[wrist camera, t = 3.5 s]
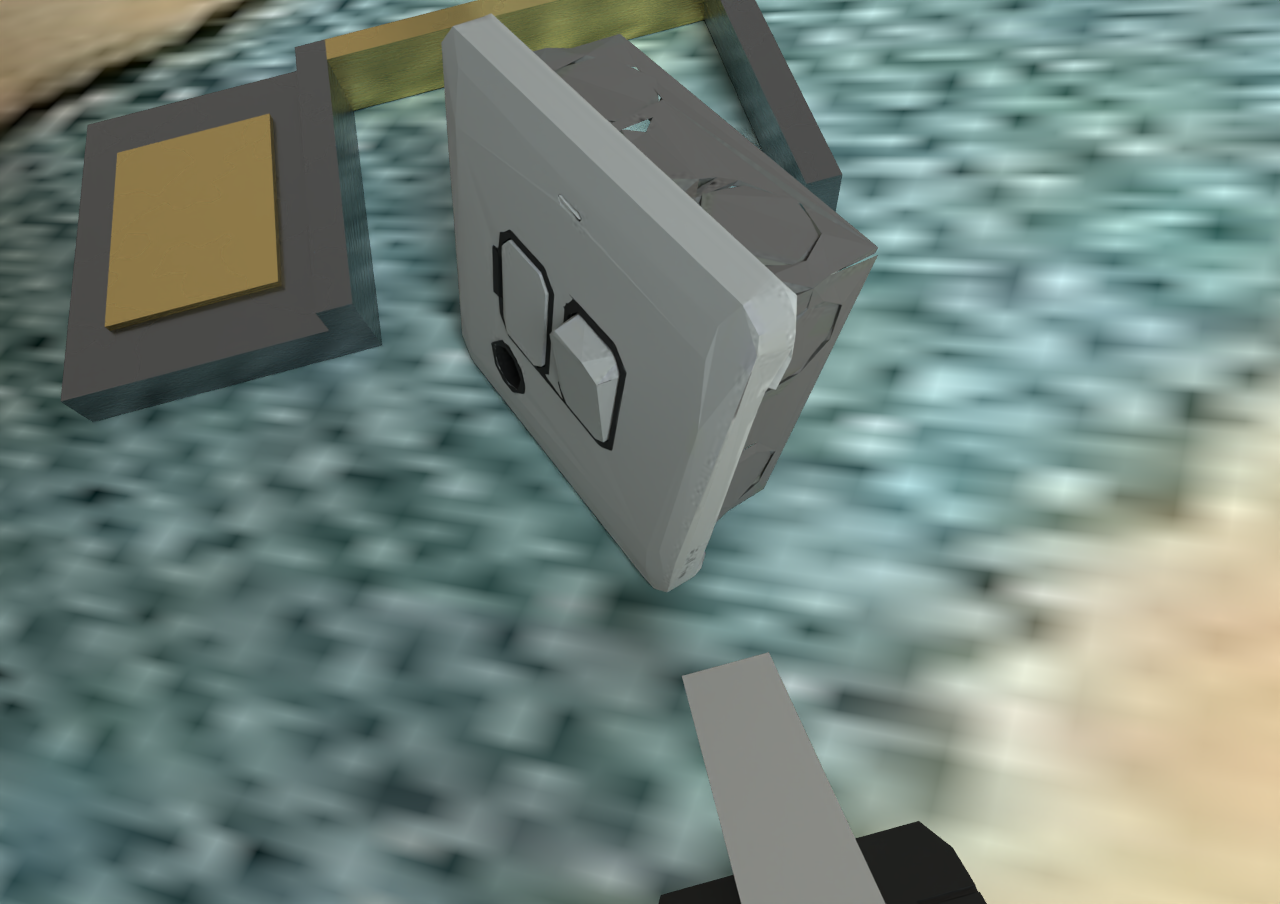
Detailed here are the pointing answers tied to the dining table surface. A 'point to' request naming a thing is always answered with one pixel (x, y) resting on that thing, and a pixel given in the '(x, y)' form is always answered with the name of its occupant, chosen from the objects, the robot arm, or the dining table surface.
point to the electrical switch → (636, 282)
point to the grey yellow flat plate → (315, 198)
